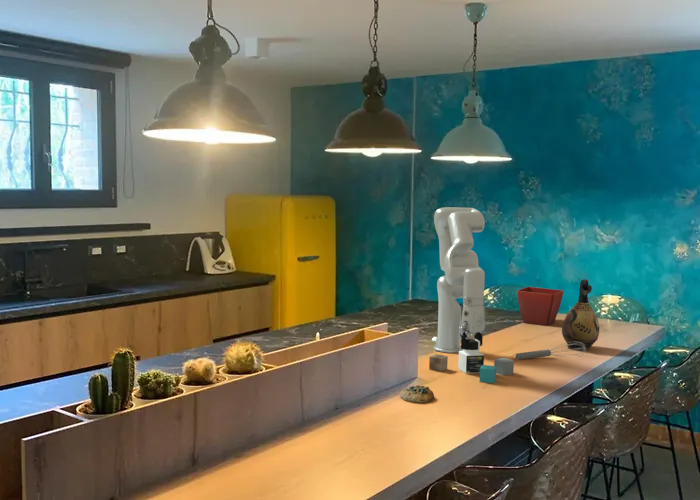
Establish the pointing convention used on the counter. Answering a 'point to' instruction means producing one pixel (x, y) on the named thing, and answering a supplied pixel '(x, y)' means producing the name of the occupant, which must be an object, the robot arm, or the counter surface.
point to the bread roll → (417, 394)
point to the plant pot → (539, 304)
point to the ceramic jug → (581, 322)
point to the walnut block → (438, 362)
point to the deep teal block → (487, 374)
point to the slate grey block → (504, 366)
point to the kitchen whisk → (543, 353)
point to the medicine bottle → (471, 358)
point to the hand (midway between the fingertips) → (471, 347)
